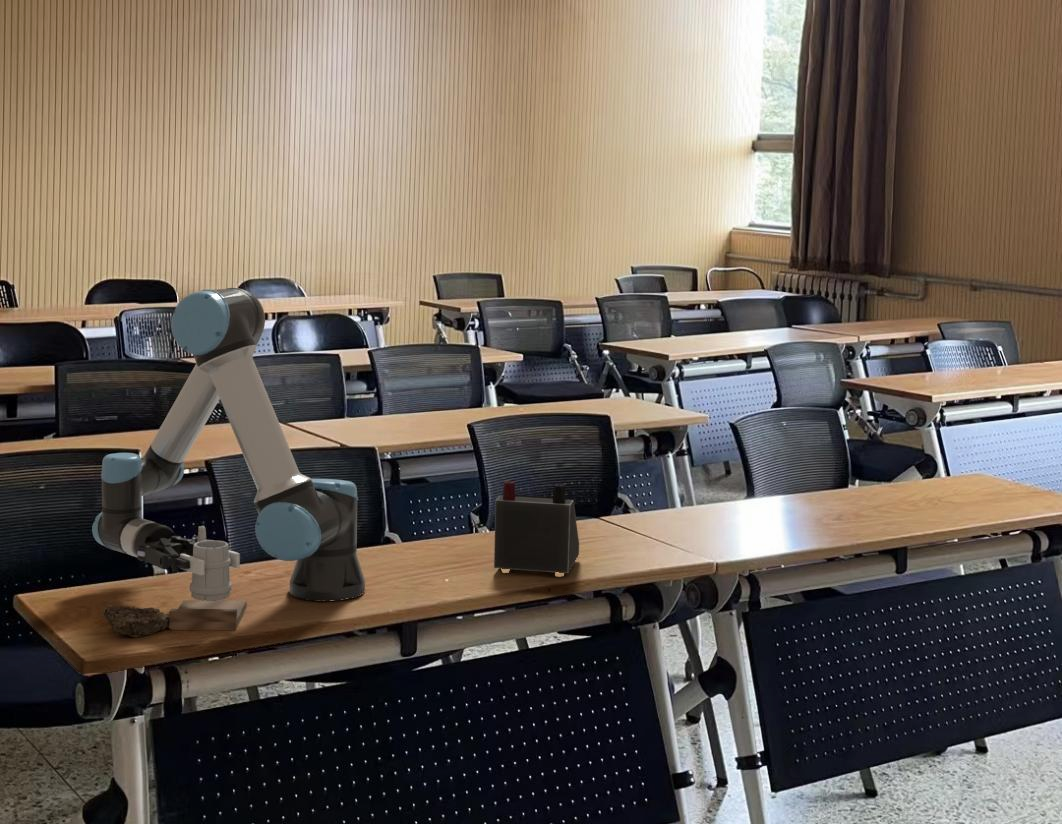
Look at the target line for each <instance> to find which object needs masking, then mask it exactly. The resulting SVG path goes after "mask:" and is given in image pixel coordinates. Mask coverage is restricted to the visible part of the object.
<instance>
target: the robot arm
mask: <svg viewBox="0 0 1062 824" xmlns="http://www.w3.org/2000/svg"><path fill="white" fill-rule="evenodd" d="M265 323H266V315H265V311H264V307H263V305H262V303H261V301H260V300H259V299H258V298H257V297H256V296H255V295H254V294H253V293H251V292H250V291H248V290H245V289H244V288H239V287H228V288H218V289H203V290H199V291H195V292H191V293H189V294H188V295H186V296H184V297H183V298H182V299H181V300H180V301H179V302H178V303H177V305H176V306H175V309H174V312H173V314H172V316H171V331H172V335H173V338H174V342H176V344H177V345H178V347H180V348H181V349H182V350H183V351H186V352H187V353H188V354H190V355H192V356H193V358H194V359H193V360H195V365H194V367H193V369H192V371H191V372H190V374H189V376H188V377H187V379H186V381H185V383H184V384H183V386H182V388H181V389H180V392H179V393H178V396H177V397H176V399H175V401H174V402H173V405H172V406H171V408H170V409H169V411H168V413H167V415H166V417H165V419H164V421H163V422H162V424H161V425H160V427H159V429H158V431H157V433H156V434H155V436H154V438H153V440H152V442H151V444H149V445H150V446H149V447H148V448H147V451H146V452H145V454H144V455H143V456H142V457H141V456H140V455H139V454H136V453H133V452H116V453H110V454H109V453H108V454H106V455H105V456H104V457H103V459H102V465H101V473H100V477H101V498H102V499H101V500H102V501H101V508H102V509H101V512H100V513H98V515H96V517H95V518H94V522H93V524H92V525H91V527H92V529H91V532H92V536H93V538H94V539H95V541H96V542H97V543H98V544H100V545H101V546H104V547H105V548H107V549H109V550H111V551H115V552H116V551H117V552H120V553H123V554H126V555H128V556H132V557H135V558H137V560H139V561H142V562H143V561H144V562H147V563H149V564H151V565H153V566H155V567H157V568H159V569H162V570H168V569H169V567H170V568H171V571H172V573H179V572H180V569H181V570H183V571H186V572H189V573H191V574H192V573H195V574H198V575H204V560H202V559H199V558H195V557H193V545H194V544H195V543H197V539H198V535H193V536H192V538H185V537H181V536H180V535H176V534H175V532H174V531H173V529H172V528H171V527H169V526H168V525H167V526H166V525H165V524H161V523H157V522H155V521H152V520H149V519H145V518H142V497H143V496H147V495H149V494H152V493H156V492H160V491H163V490H166V489H169V488H171V487H173V486H174V485H177V484H178V483H179V482H180V481H181V480H182V478H183V476H184V474H185V465H184V461H185V459H186V458H187V456H188V454H189V452H190V451H191V449H192V448H193V446H194V445H195V442H196V441H197V439H198V437H199V435H200V434H201V432H202V430H203V428H204V427H205V425H206V423H207V422H208V420H209V418H210V416H211V415H212V413H213V411H214V410H215V407H216V406H217V405H218V403H219V401H220V402H221V405H222V407H223V409H224V412H225V414H226V416H227V420H228V422H229V424H230V426H231V428H232V431H233V434H234V436H235V438H236V440H237V444H238V446H239V448H240V451H241V454H242V455H243V458H244V460H245V463H246V465H247V467H248V471H249V473H250V475H251V477H252V479H253V482H254V485H255V486H256V490H257V492H256V494H255V496H254V497H255V498H254V500H253V504H254V506H255V508H256V512H257V513H258V515H257V518H256V523H255V525H254V526H255V527H254V528H255V529H254V531H255V537H256V539H257V542H258V543H259V545H260V547H261V549H263V550H264V551H265V552H266V553H267V554H268V555H270V556H271V557H272V558H275V559H277V560H279V561H283V562H294V561H295V564H294V568H293V570H292V573H291V576H290V580H289V594H290V595H291V596H292V595H293V596H292V597H295V598H297V599H300V598H301V599H300V600H304V599H306V600H305V601H311V600H325V601H324V602H331V601H330V600H340V601H342V600H341V599H346V598H352V597H355V598H357V597H356V596H358V595H360V594H362V593H363V594H365V592H366V580H365V577H364V573H363V570H362V567H361V564H360V563H361V562H360V561H359V557H358V554H357V552H358V550H357V543H358V541H357V539H358V535H357V534H358V533H357V532H358V501H359V498H358V490H357V485H356V484H355V483H354V482H352V481H349V480H343V479H333V478H332V479H330V478H311V477H309V476H307V475H304V474H303V473H301V472H300V471H299V468H298V465H297V463H296V461H295V458H294V456H293V454H292V451H291V448H290V445H289V444H288V441H287V438H286V436H285V434H284V431H283V429H282V426H281V423H280V421H279V419H278V417H277V414H276V412H275V409H274V407H273V404H272V402H271V400H270V398H269V394H268V392H267V390H266V388H265V385H264V382H263V380H262V378H261V375H260V373H259V371H258V368H257V365H256V363H255V361H254V354H255V352H256V349H257V345H258V343H259V342H260V340H261V337H262V335H263V333H264V330H265ZM207 540H209V539H207V538H206V541H207ZM229 558H230V562H231V563H230V565H229V567H231V568H234V569H239V568H240V563H241V561H240V560H241V559H240V558H241V553H239V552H236V551H233V550H230V549H229ZM364 591H365V592H364ZM363 594H362V595H363ZM360 596H361V595H360ZM358 597H359V596H358ZM307 599H308V600H307ZM352 599H353V598H352Z"/></svg>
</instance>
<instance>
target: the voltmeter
mask: <svg viewBox="0 0 1062 824" xmlns="http://www.w3.org/2000/svg"><path fill="white" fill-rule="evenodd" d="M552 493H553V494H552V496H540V495H538V496H537V495H526V494H525V495H524V494H516V482H515V481H510V480H506V481H503V490H502V495H498V497H497V498H496V499H495V502H494V503H495V506H494V507H495V509H494V511H495V512H494V513H495V514H494V555H493V568H494V569H500V568H502V569H511V570H520V571H532V572H534V571H535V572H548V573H554V572H559V573H565V574H569V572H570V571H569V570H571V569H572V568H571V567H573V566H574V564H575V563H574V562H576V561H577V559H578V557H579V556H580V540H579V539H580V538H579V531H578V524H577V517H576V516H577V515H576V509H575V502H574V501H575V500H574V499H568V497H566V485H564V484H561V483H560V484H559V483H557V484H553V492H552ZM578 555H579V556H578ZM576 558H577V559H576ZM575 560H576V561H575ZM572 565H573V566H572Z"/></svg>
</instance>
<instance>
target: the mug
mask: <svg viewBox="0 0 1062 824" xmlns="http://www.w3.org/2000/svg"><path fill="white" fill-rule="evenodd" d="M197 531H198V532H197V534H198V535H197V536H198V539H197V543H195V544H194V545H193V556H192V557H195V558H199V559H202V560H204V575H198V574H195V573H192V572H191V582H190V584H189V591H190V592H191V593H190V594H191V595H190V596H191V598H192V599H194V600H202V601H224V600H226V599H227V598H229V597H230V596H231V591H232V588H233V587H232V586H233V585H232V582H231V581H230V566H229V565H230V563H231V562H230V558H229V550H230V548H229V547H230V546H229V543H228V542H226V541H224V540H214V539H208V540H207V541H206V539H207V531H206V527H205V525H201V526H200V525H199V526H198V529H197Z"/></svg>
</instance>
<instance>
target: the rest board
mask: <svg viewBox="0 0 1062 824" xmlns="http://www.w3.org/2000/svg"><path fill="white" fill-rule="evenodd" d="M247 602H248V601H247V600H216V601H206V600H203V601H202V600H197V599H194V600H188V599H187V600H185V599H184V600H182V602H181V603H180V605H179V606H178V608H170V609H169V610H168V616H169V627H168V628H169V629H171V630H170V631H173V630H174V631H175V630H176V631H181V630H182V631H192V630H193V631H236V630H237V629H238V627H239V625H240V622H241V621H242V618H243V617H244V615H245V613H244V612H246V611H247V609H246V608H247V606H248V605H247V604H248V603H247ZM245 610H246V611H245ZM243 614H244V615H243Z"/></svg>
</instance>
